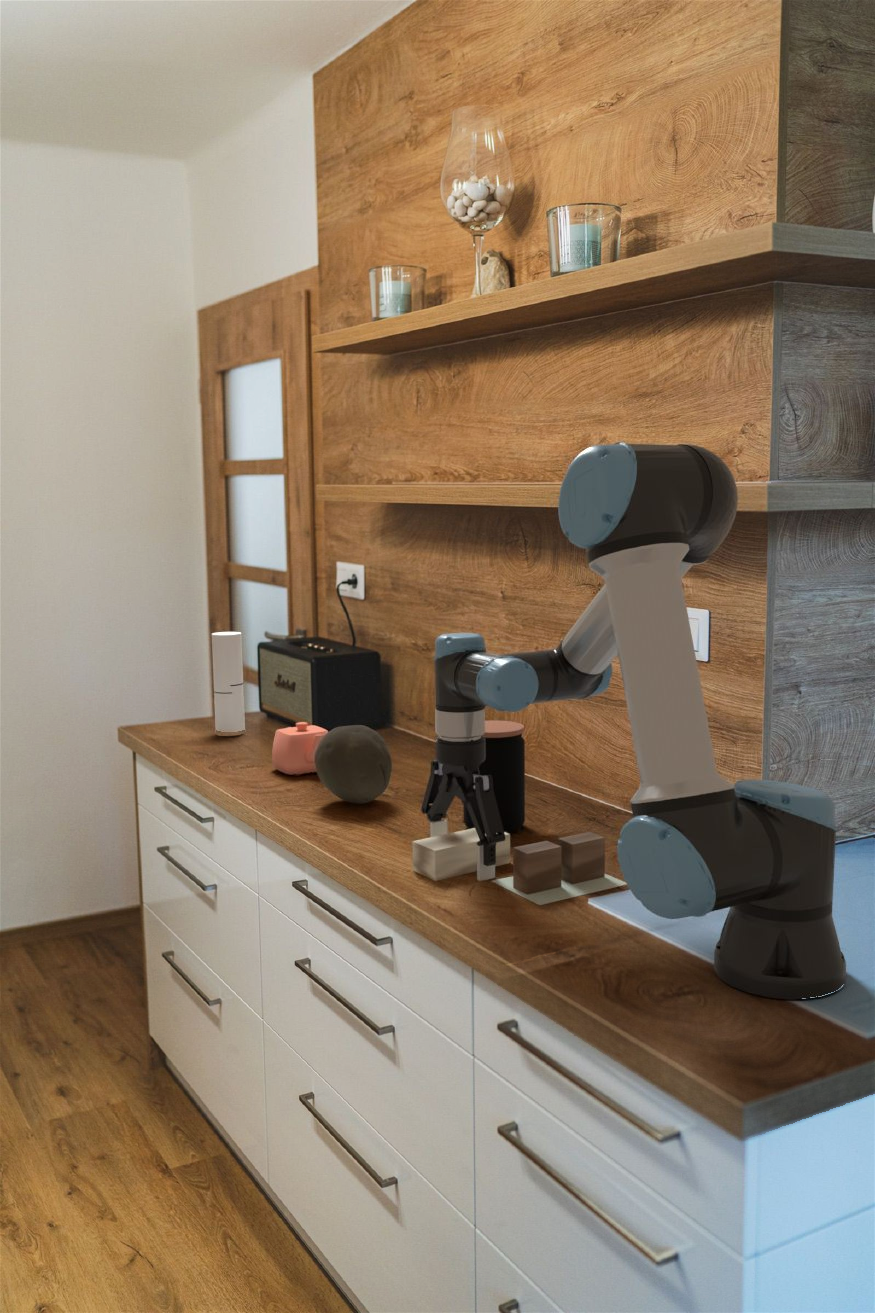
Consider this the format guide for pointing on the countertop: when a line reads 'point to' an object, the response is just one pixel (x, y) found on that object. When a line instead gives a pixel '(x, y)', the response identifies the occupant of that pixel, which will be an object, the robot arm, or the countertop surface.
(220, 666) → the cylindrical container
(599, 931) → the countertop surface
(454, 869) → the lintel
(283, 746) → the teapot
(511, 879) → the board
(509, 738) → the coffee jar
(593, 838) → the post
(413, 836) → the countertop surface
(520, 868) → the post
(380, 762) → the dark grey ball
